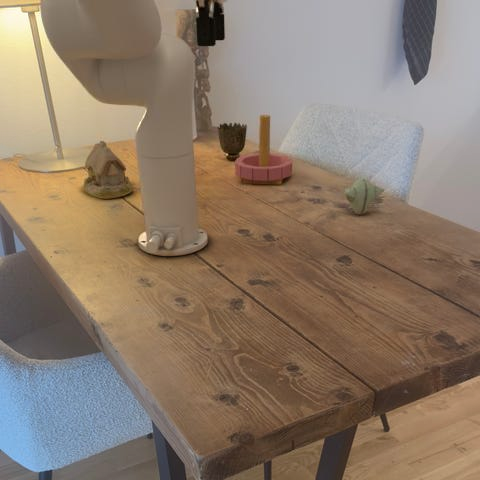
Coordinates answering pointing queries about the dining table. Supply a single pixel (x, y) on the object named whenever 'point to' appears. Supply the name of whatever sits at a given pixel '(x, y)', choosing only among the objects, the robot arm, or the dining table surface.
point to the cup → (232, 139)
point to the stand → (264, 149)
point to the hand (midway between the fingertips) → (211, 42)
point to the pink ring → (251, 170)
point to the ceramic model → (105, 174)
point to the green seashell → (362, 195)
